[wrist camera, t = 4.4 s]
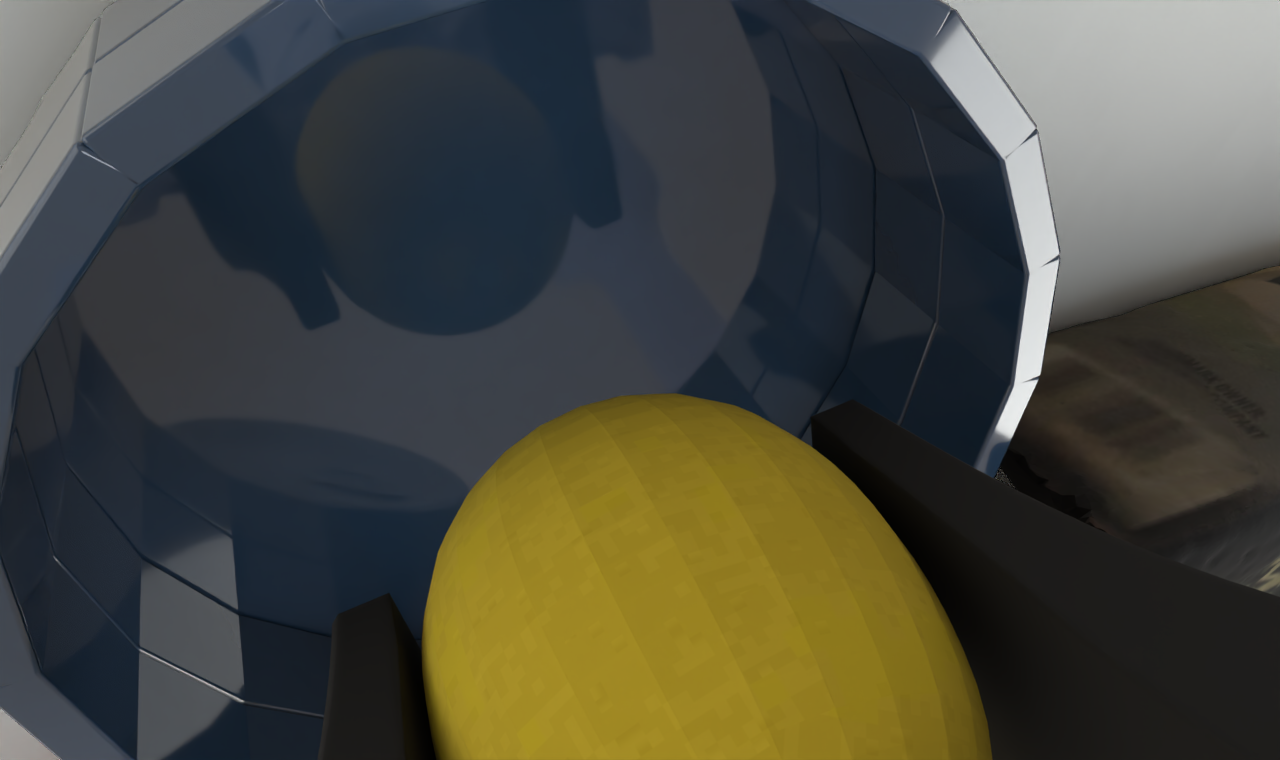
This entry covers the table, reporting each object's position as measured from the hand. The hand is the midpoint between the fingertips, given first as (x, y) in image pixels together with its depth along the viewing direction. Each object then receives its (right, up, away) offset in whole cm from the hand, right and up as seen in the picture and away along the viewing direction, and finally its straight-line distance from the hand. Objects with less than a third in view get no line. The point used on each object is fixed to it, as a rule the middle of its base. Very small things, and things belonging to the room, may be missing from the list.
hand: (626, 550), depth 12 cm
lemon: (-1, +1, +2) cm, 2 cm away
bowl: (-2, +3, +3) cm, 5 cm away
